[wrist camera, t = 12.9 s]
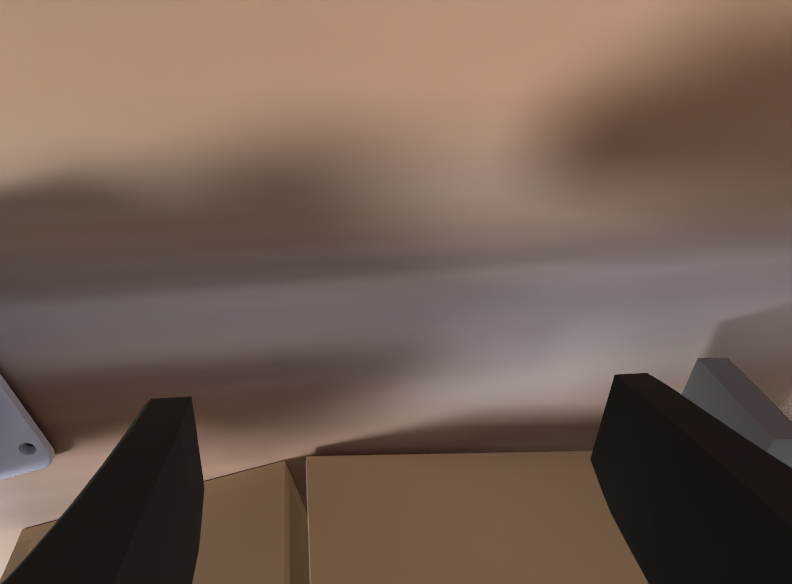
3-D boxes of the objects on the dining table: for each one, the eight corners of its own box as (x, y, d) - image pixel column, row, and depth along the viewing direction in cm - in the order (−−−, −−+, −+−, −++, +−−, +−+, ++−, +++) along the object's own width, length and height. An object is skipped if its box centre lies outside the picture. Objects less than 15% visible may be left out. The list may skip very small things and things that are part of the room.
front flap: (305, 468, 23) (310, 622, 18) (314, 332, 20) (324, 470, 15) (680, 459, 26) (775, 589, 21) (737, 339, 23) (864, 457, 18)
